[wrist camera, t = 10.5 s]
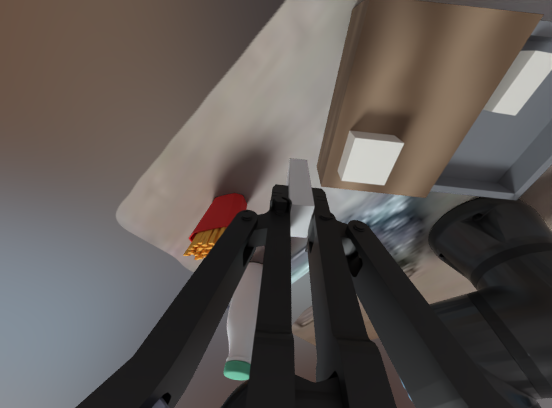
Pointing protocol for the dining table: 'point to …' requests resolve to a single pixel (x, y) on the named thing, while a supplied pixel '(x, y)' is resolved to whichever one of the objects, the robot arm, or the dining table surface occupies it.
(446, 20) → the walnut platform
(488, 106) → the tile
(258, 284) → the milk bottle
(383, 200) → the dining table surface
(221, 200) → the french fries
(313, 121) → the dining table surface
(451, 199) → the dining table surface
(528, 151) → the box
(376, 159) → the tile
